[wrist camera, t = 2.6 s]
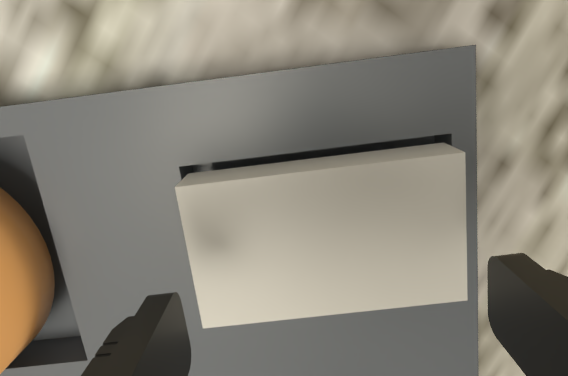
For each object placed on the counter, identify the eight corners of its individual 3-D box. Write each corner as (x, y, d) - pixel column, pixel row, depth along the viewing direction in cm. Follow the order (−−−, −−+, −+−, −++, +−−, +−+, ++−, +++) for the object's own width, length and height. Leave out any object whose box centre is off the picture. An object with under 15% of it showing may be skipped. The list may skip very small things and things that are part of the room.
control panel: (445, 49, 18) (491, 42, 14) (455, 437, 23) (491, 515, 19) (-193, 132, 19) (-324, 148, 15) (-46, 484, 24) (-114, 567, 20)
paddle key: (443, 142, 16) (465, 152, 14) (447, 274, 17) (467, 300, 15) (188, 173, 16) (174, 187, 14) (212, 300, 18) (202, 328, 16)
